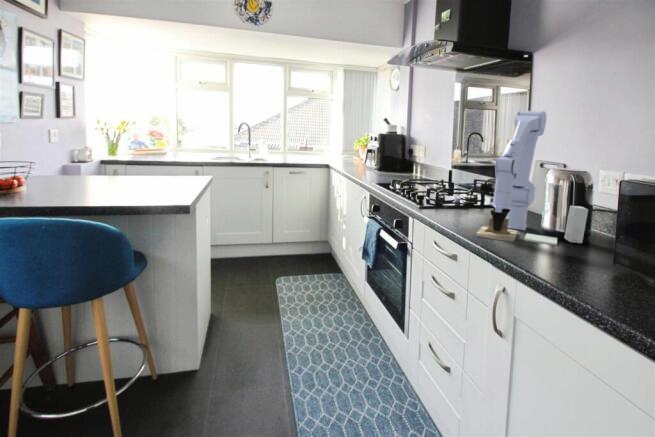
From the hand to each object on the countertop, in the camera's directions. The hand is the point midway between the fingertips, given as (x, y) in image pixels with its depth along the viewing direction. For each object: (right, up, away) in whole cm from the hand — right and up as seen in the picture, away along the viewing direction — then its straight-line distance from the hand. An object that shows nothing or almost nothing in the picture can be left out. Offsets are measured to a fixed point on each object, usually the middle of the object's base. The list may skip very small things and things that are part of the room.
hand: (497, 229), depth 157 cm
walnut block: (0, -2, 0) cm, 2 cm away
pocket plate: (0, -2, 0) cm, 2 cm away
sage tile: (+14, -4, -3) cm, 14 cm away
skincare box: (+26, -4, -2) cm, 26 cm away
